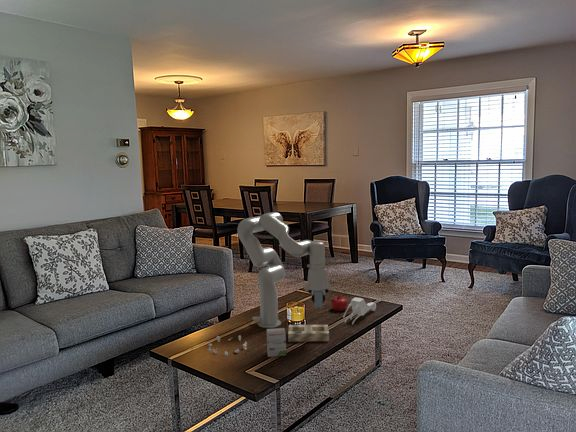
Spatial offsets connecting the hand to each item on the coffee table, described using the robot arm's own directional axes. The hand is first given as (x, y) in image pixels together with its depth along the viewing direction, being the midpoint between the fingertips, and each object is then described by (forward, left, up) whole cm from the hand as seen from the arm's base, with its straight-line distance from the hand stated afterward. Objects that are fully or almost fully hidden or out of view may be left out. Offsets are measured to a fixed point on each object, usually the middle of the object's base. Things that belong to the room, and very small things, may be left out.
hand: (318, 301), depth 231 cm
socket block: (-5, -1, -18) cm, 18 cm away
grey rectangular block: (0, 0, -2) cm, 2 cm away
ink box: (-20, -22, -18) cm, 35 cm away
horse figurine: (+25, +27, -18) cm, 41 cm away
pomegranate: (+14, +41, -18) cm, 46 cm away
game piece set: (-44, -13, -18) cm, 50 cm away
